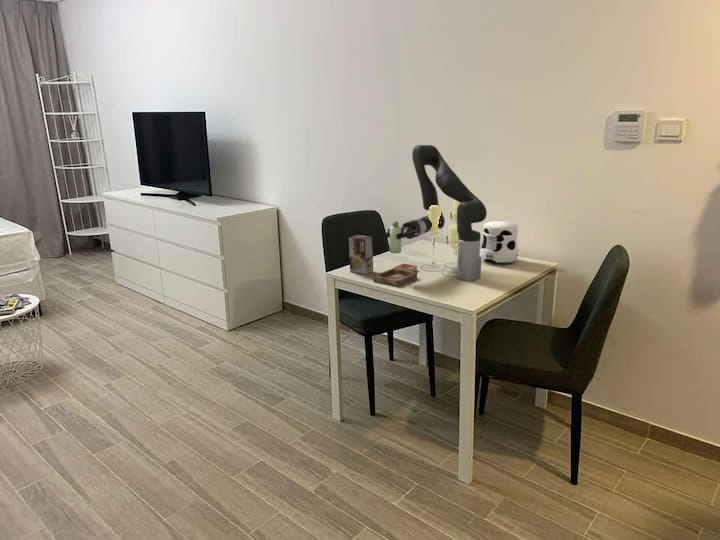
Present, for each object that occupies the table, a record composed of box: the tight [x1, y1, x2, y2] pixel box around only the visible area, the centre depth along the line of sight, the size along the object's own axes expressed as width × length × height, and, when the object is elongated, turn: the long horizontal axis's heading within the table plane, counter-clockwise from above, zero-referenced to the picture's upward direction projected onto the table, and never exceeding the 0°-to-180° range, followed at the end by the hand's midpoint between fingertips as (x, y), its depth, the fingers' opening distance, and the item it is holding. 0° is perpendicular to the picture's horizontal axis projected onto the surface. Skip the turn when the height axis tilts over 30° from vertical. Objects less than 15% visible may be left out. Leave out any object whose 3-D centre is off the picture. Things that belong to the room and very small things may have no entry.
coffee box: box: [348, 234, 374, 275], centre depth 244 cm, size 9×6×16 cm
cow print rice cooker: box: [480, 220, 519, 265], centre depth 255 cm, size 17×17×18 cm
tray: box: [373, 267, 418, 288], centre depth 232 cm, size 13×15×2 cm
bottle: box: [389, 221, 402, 255], centre depth 227 cm, size 5×5×13 cm
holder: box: [393, 262, 418, 272], centre depth 245 cm, size 7×7×2 cm
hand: (392, 236), depth 225 cm, fingers closed on bottle, 4 cm apart
